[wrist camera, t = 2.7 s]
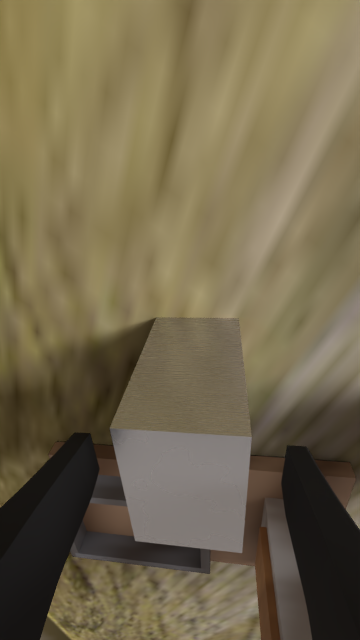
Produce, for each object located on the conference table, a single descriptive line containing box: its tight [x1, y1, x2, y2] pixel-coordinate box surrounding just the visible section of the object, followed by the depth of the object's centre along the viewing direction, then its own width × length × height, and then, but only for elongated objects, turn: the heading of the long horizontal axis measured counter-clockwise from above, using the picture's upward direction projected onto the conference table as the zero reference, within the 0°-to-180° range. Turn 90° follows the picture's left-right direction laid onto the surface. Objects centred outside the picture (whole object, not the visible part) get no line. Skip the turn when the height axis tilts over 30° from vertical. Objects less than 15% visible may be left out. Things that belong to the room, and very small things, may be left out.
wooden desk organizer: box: [48, 442, 356, 640], centre depth 18 cm, size 19×11×8 cm, turn 93°
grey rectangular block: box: [110, 317, 252, 553], centre depth 13 cm, size 4×6×7 cm, turn 3°
